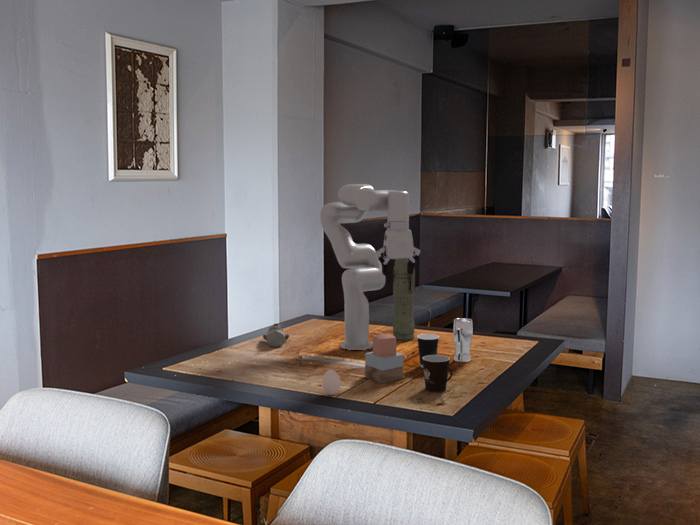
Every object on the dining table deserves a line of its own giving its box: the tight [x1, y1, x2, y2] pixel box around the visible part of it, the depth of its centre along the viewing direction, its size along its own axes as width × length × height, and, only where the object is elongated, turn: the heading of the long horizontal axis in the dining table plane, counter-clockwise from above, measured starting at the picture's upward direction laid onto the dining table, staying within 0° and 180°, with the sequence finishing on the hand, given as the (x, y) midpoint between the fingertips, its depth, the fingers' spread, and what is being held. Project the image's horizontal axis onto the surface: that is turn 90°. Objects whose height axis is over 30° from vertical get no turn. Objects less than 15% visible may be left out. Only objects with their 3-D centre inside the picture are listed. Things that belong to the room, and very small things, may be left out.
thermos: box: [392, 258, 416, 342], centre depth 294 cm, size 9×12×35 cm
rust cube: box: [372, 333, 397, 357], centre depth 237 cm, size 6×6×6 cm
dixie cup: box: [416, 333, 440, 369], centre depth 251 cm, size 8×8×11 cm
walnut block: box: [364, 364, 404, 384], centre depth 238 cm, size 9×9×4 cm
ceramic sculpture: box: [262, 323, 290, 348], centre depth 287 cm, size 11×9×15 cm
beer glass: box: [452, 317, 474, 363], centre depth 260 cm, size 7×7×15 cm
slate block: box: [364, 351, 405, 371], centre depth 238 cm, size 9×9×4 cm
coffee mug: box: [422, 354, 453, 393], centre depth 223 cm, size 12×9×10 cm
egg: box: [321, 369, 341, 396], centre depth 220 cm, size 6×6×8 cm
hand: (397, 274), depth 253 cm, fingers open, 9 cm apart
